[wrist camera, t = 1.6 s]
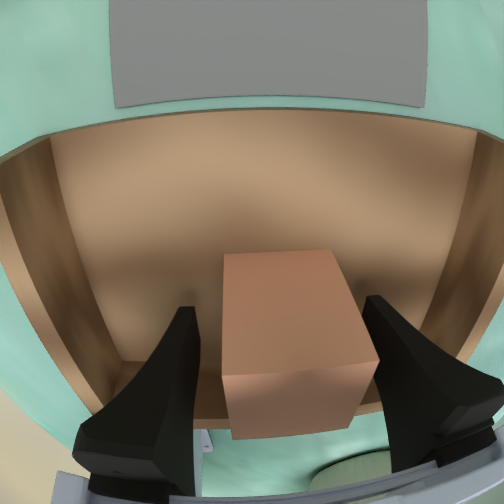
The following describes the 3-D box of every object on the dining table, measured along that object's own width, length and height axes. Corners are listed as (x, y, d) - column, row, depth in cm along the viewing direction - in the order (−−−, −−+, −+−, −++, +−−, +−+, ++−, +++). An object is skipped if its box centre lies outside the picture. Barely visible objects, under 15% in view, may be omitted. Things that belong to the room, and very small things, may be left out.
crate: (418, 341, 19) (444, 394, 15) (113, 361, 18) (97, 421, 14) (483, 130, 11) (549, 164, 7) (37, 137, 11) (-29, 175, 7)
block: (319, 324, 16) (347, 427, 11) (230, 330, 16) (232, 439, 11) (331, 249, 13) (379, 360, 8) (224, 253, 13) (221, 375, 8)
